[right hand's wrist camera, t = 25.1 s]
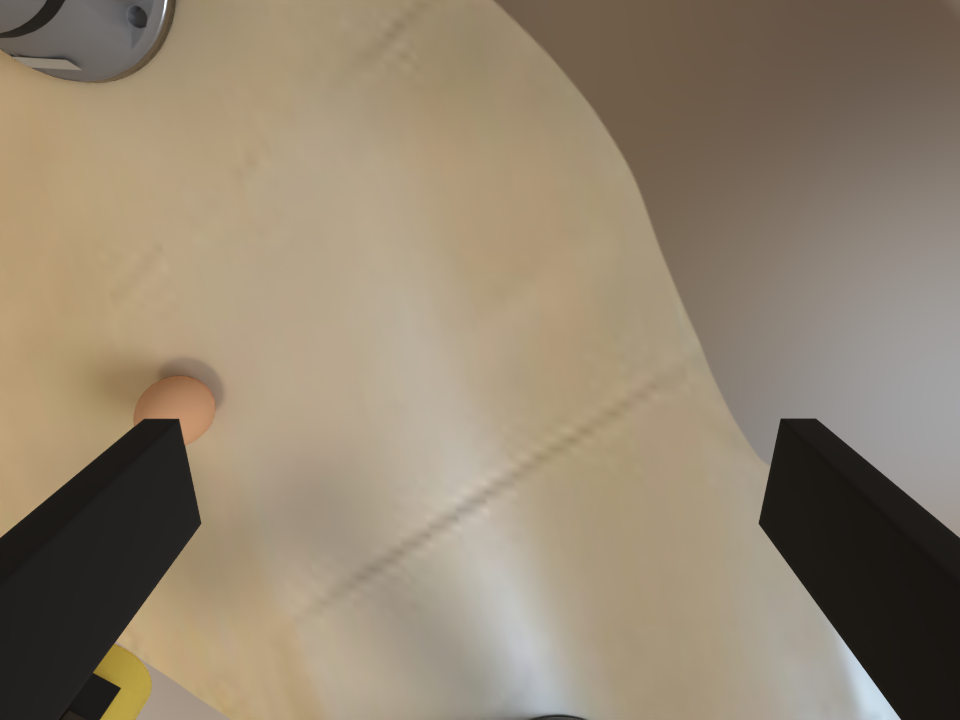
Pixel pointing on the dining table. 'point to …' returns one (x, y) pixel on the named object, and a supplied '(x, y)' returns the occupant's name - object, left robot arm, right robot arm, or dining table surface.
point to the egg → (178, 405)
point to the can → (125, 683)
